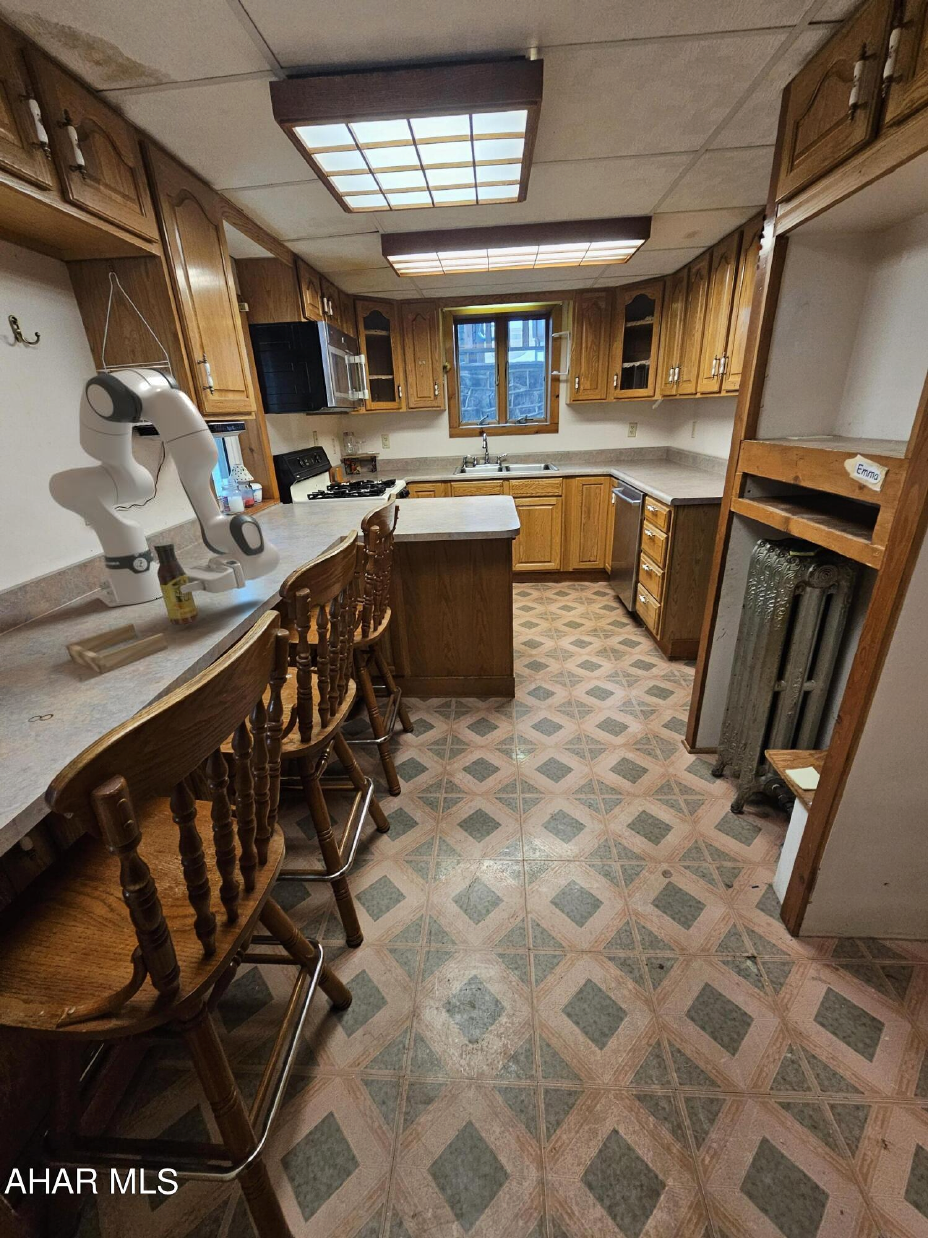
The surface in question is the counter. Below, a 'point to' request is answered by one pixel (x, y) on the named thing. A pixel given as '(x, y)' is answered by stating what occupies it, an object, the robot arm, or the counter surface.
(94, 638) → the wooden bracket
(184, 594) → the sauce bottle
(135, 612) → the counter surface
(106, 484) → the robot arm
